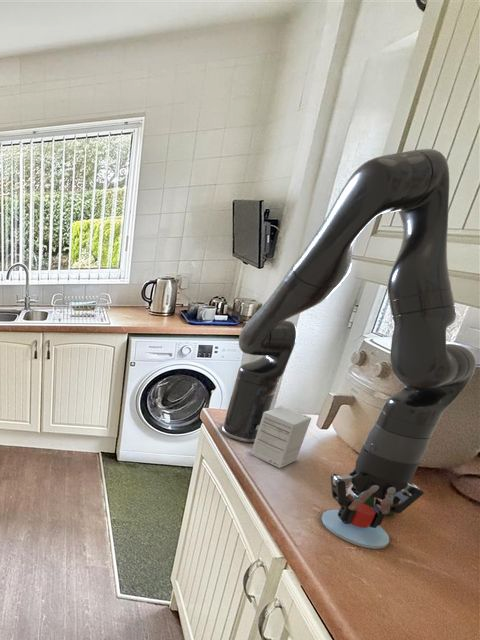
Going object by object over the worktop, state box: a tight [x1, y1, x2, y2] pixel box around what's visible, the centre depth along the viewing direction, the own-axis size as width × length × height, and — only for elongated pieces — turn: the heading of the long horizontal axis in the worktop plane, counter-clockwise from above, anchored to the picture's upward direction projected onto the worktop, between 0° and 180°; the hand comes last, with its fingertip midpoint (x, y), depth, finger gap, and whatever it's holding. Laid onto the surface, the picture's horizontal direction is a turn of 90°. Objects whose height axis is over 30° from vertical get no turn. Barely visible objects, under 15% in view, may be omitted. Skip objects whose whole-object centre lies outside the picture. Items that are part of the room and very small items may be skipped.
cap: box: [350, 503, 376, 528], centre depth 80 cm, size 4×4×3 cm
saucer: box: [321, 509, 390, 550], centre depth 80 cm, size 10×10×1 cm
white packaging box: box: [250, 405, 312, 469], centre depth 101 cm, size 7×7×13 cm
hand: (356, 522), depth 80 cm, fingers closed on cap, 3 cm apart
